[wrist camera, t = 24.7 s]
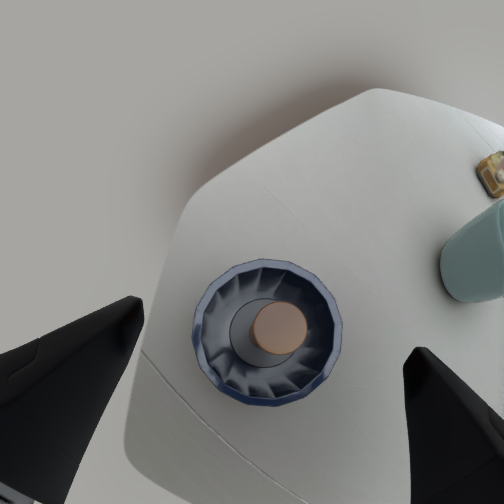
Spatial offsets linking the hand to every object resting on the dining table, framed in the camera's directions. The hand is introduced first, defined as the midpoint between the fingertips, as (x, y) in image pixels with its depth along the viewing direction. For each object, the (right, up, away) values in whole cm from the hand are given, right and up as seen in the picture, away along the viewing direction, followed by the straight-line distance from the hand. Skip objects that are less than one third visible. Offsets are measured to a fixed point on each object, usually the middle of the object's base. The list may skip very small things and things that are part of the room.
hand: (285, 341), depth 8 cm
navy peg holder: (0, -4, +13) cm, 13 cm away
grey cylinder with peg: (0, -4, +12) cm, 13 cm away
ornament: (+35, +13, +20) cm, 42 cm away
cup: (+20, 0, +15) cm, 25 cm away
